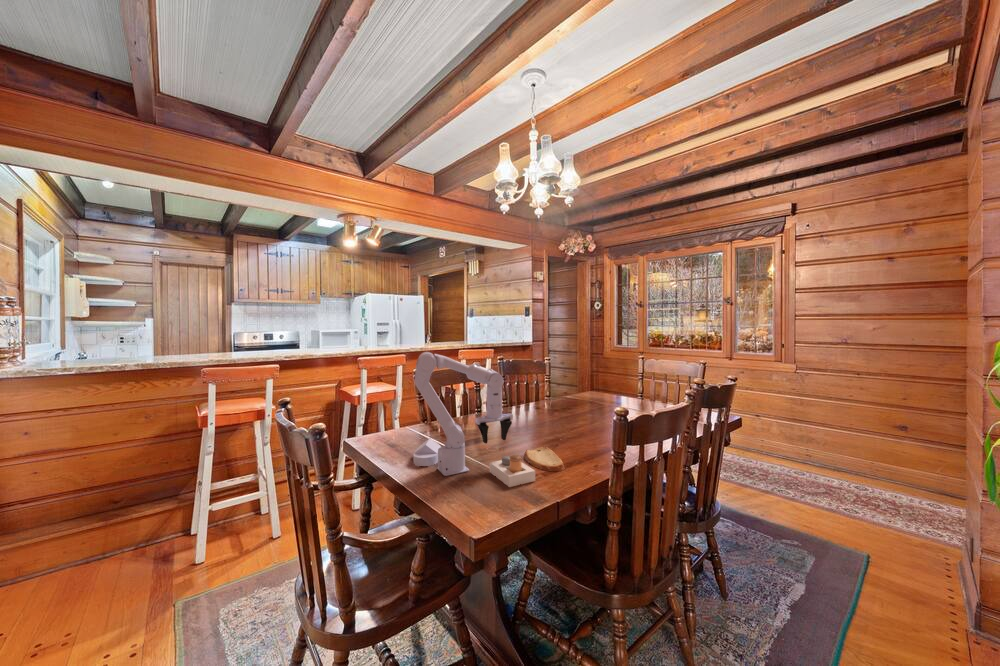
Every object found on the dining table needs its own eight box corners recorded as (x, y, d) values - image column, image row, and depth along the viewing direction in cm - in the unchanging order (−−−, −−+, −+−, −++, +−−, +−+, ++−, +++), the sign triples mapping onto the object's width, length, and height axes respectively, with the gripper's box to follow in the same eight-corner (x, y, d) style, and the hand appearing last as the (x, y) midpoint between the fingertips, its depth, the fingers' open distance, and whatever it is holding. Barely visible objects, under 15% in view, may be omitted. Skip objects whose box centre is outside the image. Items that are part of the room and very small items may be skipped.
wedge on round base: (419, 454, 155) (410, 466, 142) (418, 437, 155) (410, 448, 142) (441, 454, 155) (435, 466, 142) (441, 437, 155) (435, 448, 142)
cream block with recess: (509, 487, 125) (509, 470, 124) (489, 472, 137) (489, 456, 137) (535, 481, 129) (535, 464, 129) (514, 466, 142) (514, 452, 141)
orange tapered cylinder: (513, 481, 128) (513, 460, 128) (507, 476, 132) (507, 456, 131) (524, 478, 130) (524, 458, 130) (517, 474, 134) (517, 454, 133)
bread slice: (562, 473, 136) (562, 463, 136) (514, 466, 143) (514, 456, 143) (572, 456, 153) (572, 447, 153) (529, 451, 160) (529, 442, 159)
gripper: (481, 408, 134) (481, 447, 135) (516, 404, 141) (517, 441, 142) (472, 404, 141) (473, 441, 141) (507, 400, 147) (507, 435, 148)
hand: (494, 441), depth 142 cm, fingers open, 7 cm apart
